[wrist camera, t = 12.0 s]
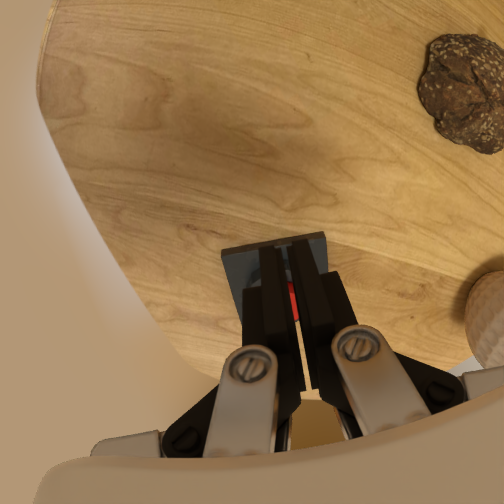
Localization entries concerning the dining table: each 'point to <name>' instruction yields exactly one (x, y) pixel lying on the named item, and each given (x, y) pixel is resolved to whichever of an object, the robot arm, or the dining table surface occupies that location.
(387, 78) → the dining table surface
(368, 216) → the dining table surface
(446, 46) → the bread roll
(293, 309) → the red push button
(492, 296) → the vase
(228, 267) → the grey button base
